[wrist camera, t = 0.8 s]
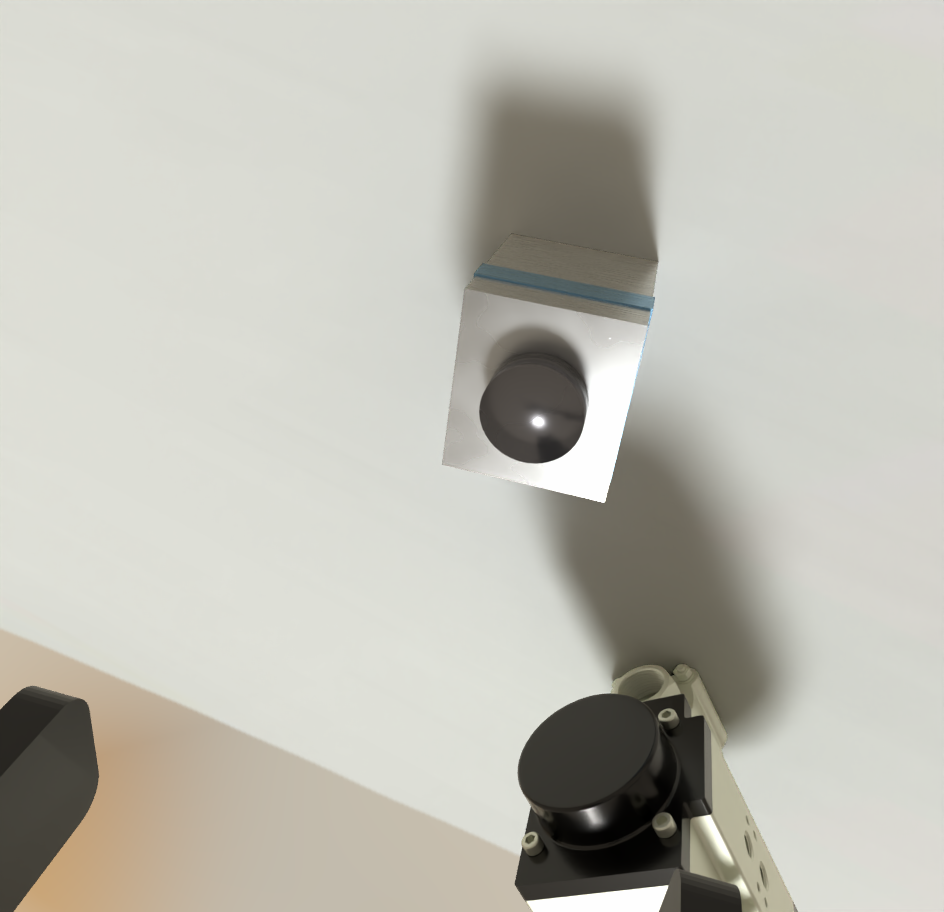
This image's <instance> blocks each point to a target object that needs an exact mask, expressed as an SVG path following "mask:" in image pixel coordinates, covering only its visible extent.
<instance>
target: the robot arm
mask: <svg viewBox="0 0 944 912" xmlns="http://www.w3.org/2000/svg"><path fill="white" fill-rule="evenodd" d="M98 778H99V773H98V765H97V758H96V751H95V745H94V738H93V731H92V724H91V718H90V711H89V707H88V705H87V703H86V702H85V701H84V700H82V699H79V698H76V697H72V696H68V695H65V694H61V693H58V692H54V691H51V690H47V689H43V688H39V687H36V686H30V687H26V688H24V689H22V690H21V691H19V692H18V693H17V694H16V695H14V696H13V697H12V698H11V699H10V700H9V701H8V702H7V703H6V704H5V705H4V706H3V707H2V709H0V912H13V911H14V910H15V909H16V908H17V906H18V905H19V903H20V902H21V901H22V900H23V898H24V897H25V896H26V894H27V893H28V892H29V890H30V889H31V887H32V886H33V885H34V884H35V882H36V881H37V880H38V878H39V877H40V876H41V874H42V873H43V872H44V870H45V869H46V868H47V866H48V865H49V864H50V862H51V861H52V860H53V858H54V857H55V856H56V854H57V853H58V852H59V851H60V849H61V848H62V847H63V845H64V844H65V842H66V841H67V840H68V838H69V837H70V836H71V834H72V833H73V832H74V831H75V829H76V828H77V827H78V825H79V824H80V823H81V821H82V820H83V818H84V817H85V815H86V813H87V812H88V810H89V808H90V806H91V804H92V801H93V799H94V796H95V793H96V789H97V785H98ZM659 912H742V903H741V895H740V891H739V888H738V886H737V885H734V884H731V883H727V882H723V881H720V880H716V879H713V878H709V877H706V876H702V875H698V874H695V873H691V872H688V871H684V870H681V869H676V870H675V871H674V873H673V875H672V877H671V880H670V883H669V885H668V888H667V891H666V893H665V896H664V899H663V901H662V904H661V907H660V909H659Z"/></svg>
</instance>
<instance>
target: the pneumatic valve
mask: <svg viewBox="0 0 944 912" xmlns="http://www.w3.org/2000/svg"><path fill="white" fill-rule="evenodd" d="M673 673H674V675H673V676H670V675H669V673H668V672H667V671H666V670H665V669H664V668H663V667H661V666H658V665H644V666H640V667H637V668H634V669H632V670H630V671H629V672H627V673H626V674H624V675H623V676H622V677H621V678H616V679H615V680H614V682H613V683H612V687H613V689H612V691H611V694H599V695H593V696H589V697H586V698H583V699H580V700H577V701H575V702H573V703H570V704H568V705H567V706H565V707H563V708H561V709H559V710H558V711H556V712H555V713H554V714H552V715H551V716H550V717H548V718H547V719H546V720H545V721H544V722H543V723H542V724H541V725H540V726H539V727H538V728H537V729H536V730H535V731H534V732H533V734H532V735H531V737H530V738H529V740H528V741H527V743H526V745H525V747H524V749H523V751H522V753H521V756H520V759H519V764H518V781H519V785H520V788H521V790H522V792H523V794H524V795H525V797H526V799H527V800H528V802H529V804H530V805H531V809H530V813H529V818H528V823H527V828H526V832H525V836H524V837H523V839H522V851H521V856H520V861H519V866H518V870H517V875H516V880H515V886H516V887H517V889H518V891H519V892H520V894H521V895H522V897H523V898H524V900H525V902H526V903H527V905H528V906H529V908H530V909H531V911H532V912H659V909H660V907H661V904H662V901H663V899H664V896H665V893H666V891H667V888H668V885H669V883H670V880H671V877H672V875H673V873H674V871H675V870H676V869H681V870H684V871H688V872H691V873H695V874H698V875H702V876H706V877H709V878H713V879H716V880H720V881H723V882H727V883H731V884H734V885H737V886H738V888H739V891H740V895H741V903H742V912H798V911H797V909H796V907H795V904H794V902H793V900H792V898H791V896H790V894H789V892H788V890H787V888H786V886H785V884H784V882H783V880H782V878H781V875H780V873H779V871H778V869H777V867H776V865H775V863H774V861H773V859H772V857H771V855H770V853H769V851H768V848H767V846H766V844H765V842H764V840H763V838H762V836H761V834H760V832H759V830H758V828H757V826H756V824H755V821H754V819H753V817H752V815H751V813H750V811H749V809H748V807H747V805H746V803H745V801H744V799H743V797H742V795H741V792H740V790H739V788H738V786H737V784H736V782H735V780H734V778H733V776H732V774H731V772H730V770H729V768H728V765H727V763H726V761H725V759H724V757H723V753H722V750H721V749H722V748H723V747H724V745H725V742H726V741H727V733H726V731H725V729H724V727H723V725H722V723H721V721H720V718H719V716H718V714H717V712H716V710H715V708H714V706H713V704H712V702H711V699H710V697H709V695H708V693H707V691H706V689H705V687H704V685H703V683H702V680H701V678H700V676H699V674H698V672H697V671H696V670H695V669H693V668H689V667H688V666H687V665H686V664H679V665H678V666H677V667H676V668H675V669H674V671H673Z"/></svg>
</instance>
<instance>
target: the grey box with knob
mask: <svg viewBox="0 0 944 912" xmlns="http://www.w3.org/2000/svg"><path fill="white" fill-rule="evenodd" d="M657 267H658V261H652V260H647V259H642V258H637V257H632V256H626V255H621V254H616V253H611V252H606V251H600V250H595V249H590V248H585V247H580V246H574V245H569V244H564V243H559V242H553V241H548V240H543V239H538V238H533V237H527V236H522V235H517V234H512V233H511V235H510V236H509V237H508V238H507V239H506V241H505V242H504V243H503V244H502V245H501V246H500V248H499V249H498V250H497V251H496V252H495V254H494V255H493V256H492V257H491V258H490V259H489V261H488V262H487V263H486V264H484V263H483V264H482V265H481V266H480V267H479V268H478V270H477V271H476V272H475V273H474V278H473V280H472V281H471V282H470V283H469V284H468V286H467V287H466V288H465V291H464V299H463V306H462V314H461V322H460V329H459V337H458V345H457V353H456V360H455V368H454V376H453V384H452V391H451V399H450V407H449V414H448V422H447V430H446V438H445V445H444V453H443V461H442V465H446V466H450V467H454V468H459V469H463V470H467V471H471V472H476V473H480V474H484V475H488V476H493V477H497V478H501V479H506V480H510V481H514V482H518V483H523V484H527V485H531V486H535V487H540V488H544V489H548V490H552V491H557V492H561V493H565V494H569V495H574V496H578V497H582V498H587V499H591V500H595V501H599V502H604V503H605V499H606V495H607V491H608V487H609V483H610V482H611V478H612V474H613V470H614V466H615V462H616V458H617V453H618V449H619V445H620V441H621V437H622V433H623V429H624V425H625V421H626V417H627V413H628V409H629V405H630V401H631V397H632V393H633V389H634V384H635V380H636V376H637V372H638V368H639V364H640V360H641V356H642V352H643V348H644V344H645V340H646V336H647V332H648V328H649V324H650V320H651V316H652V311H653V306H654V300H655V297H653V292H654V286H655V280H656V274H657Z"/></svg>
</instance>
